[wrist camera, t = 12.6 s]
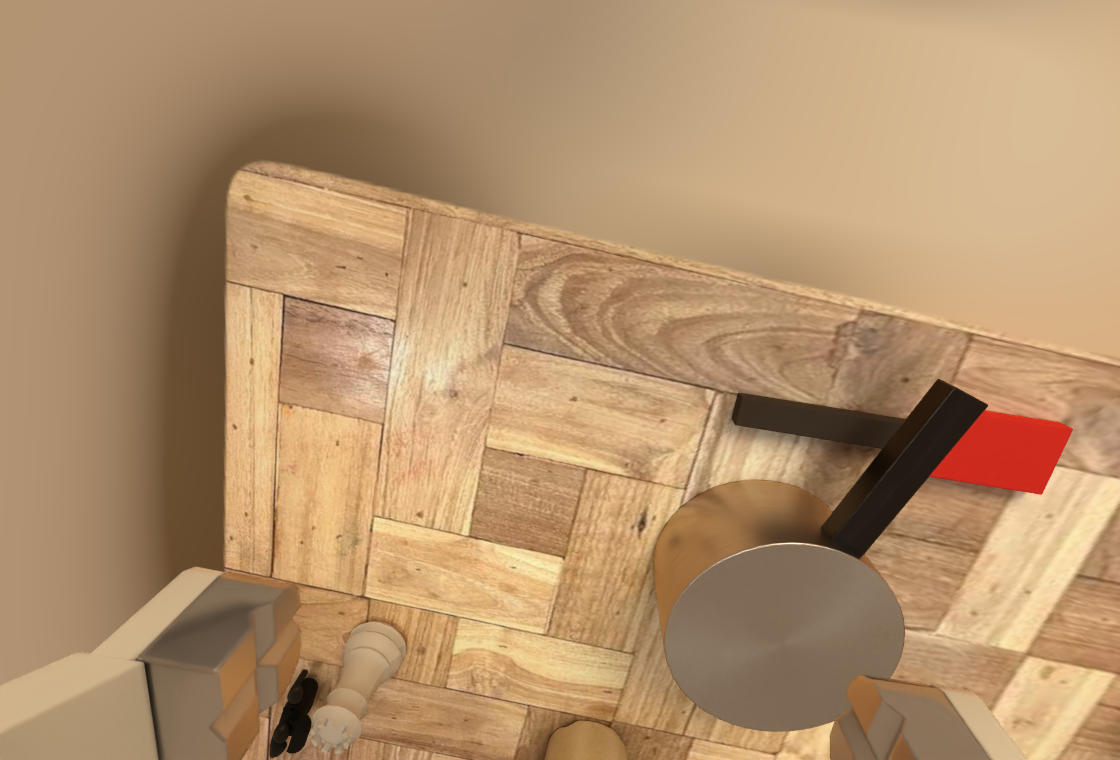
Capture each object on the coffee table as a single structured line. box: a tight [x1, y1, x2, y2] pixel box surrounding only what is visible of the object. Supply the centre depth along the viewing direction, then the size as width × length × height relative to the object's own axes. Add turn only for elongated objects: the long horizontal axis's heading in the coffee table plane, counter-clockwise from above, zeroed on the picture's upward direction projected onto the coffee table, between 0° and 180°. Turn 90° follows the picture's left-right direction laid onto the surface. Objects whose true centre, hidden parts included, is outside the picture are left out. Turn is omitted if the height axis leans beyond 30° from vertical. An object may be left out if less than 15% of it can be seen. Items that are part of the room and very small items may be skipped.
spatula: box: [732, 393, 1073, 494], centre depth 33 cm, size 4×19×1 cm, turn 82°
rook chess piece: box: [310, 621, 406, 755], centre depth 37 cm, size 4×4×8 cm
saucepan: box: [653, 379, 988, 732], centre depth 32 cm, size 23×13×7 cm, turn 153°
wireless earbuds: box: [270, 669, 318, 758], centre depth 41 cm, size 7×2×5 cm, turn 158°
